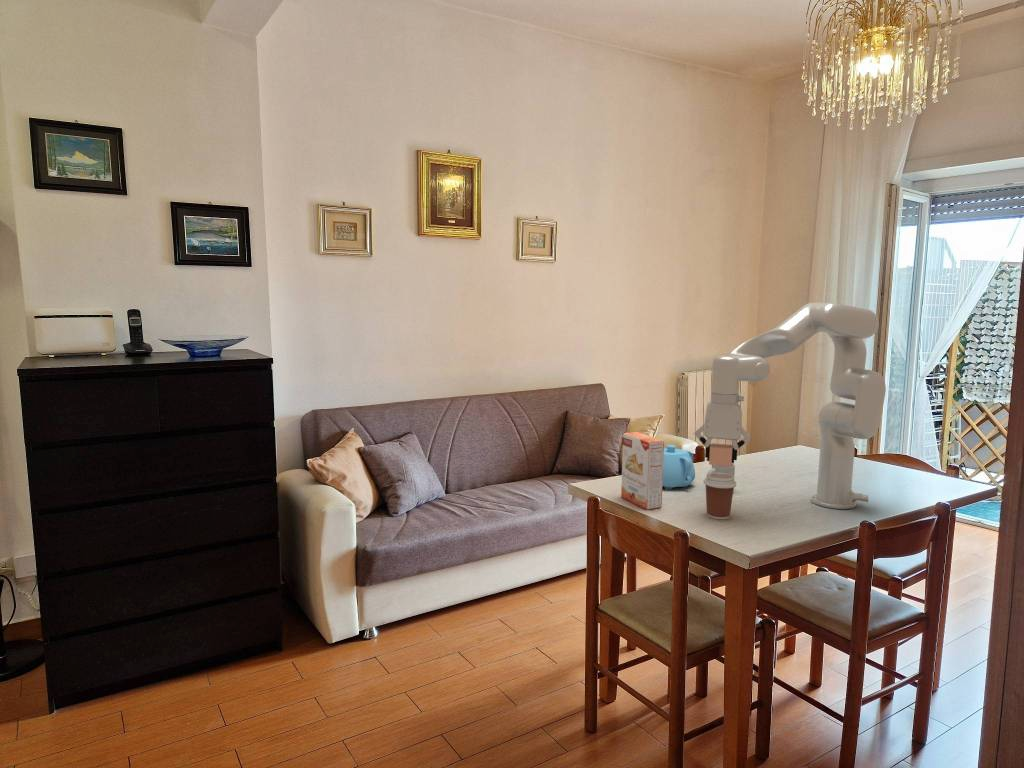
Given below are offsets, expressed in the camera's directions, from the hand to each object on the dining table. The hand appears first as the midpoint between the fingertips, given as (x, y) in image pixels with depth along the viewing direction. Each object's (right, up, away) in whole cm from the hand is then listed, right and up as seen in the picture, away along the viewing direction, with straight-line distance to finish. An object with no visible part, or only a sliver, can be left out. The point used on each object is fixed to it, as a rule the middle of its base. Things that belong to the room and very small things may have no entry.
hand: (720, 460), depth 190 cm
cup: (+8, -13, +27) cm, 31 cm away
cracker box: (-20, -15, +14) cm, 29 cm away
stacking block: (0, -1, 0) cm, 1 cm away
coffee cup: (0, -16, +2) cm, 17 cm away
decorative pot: (-7, -12, +34) cm, 37 cm away
